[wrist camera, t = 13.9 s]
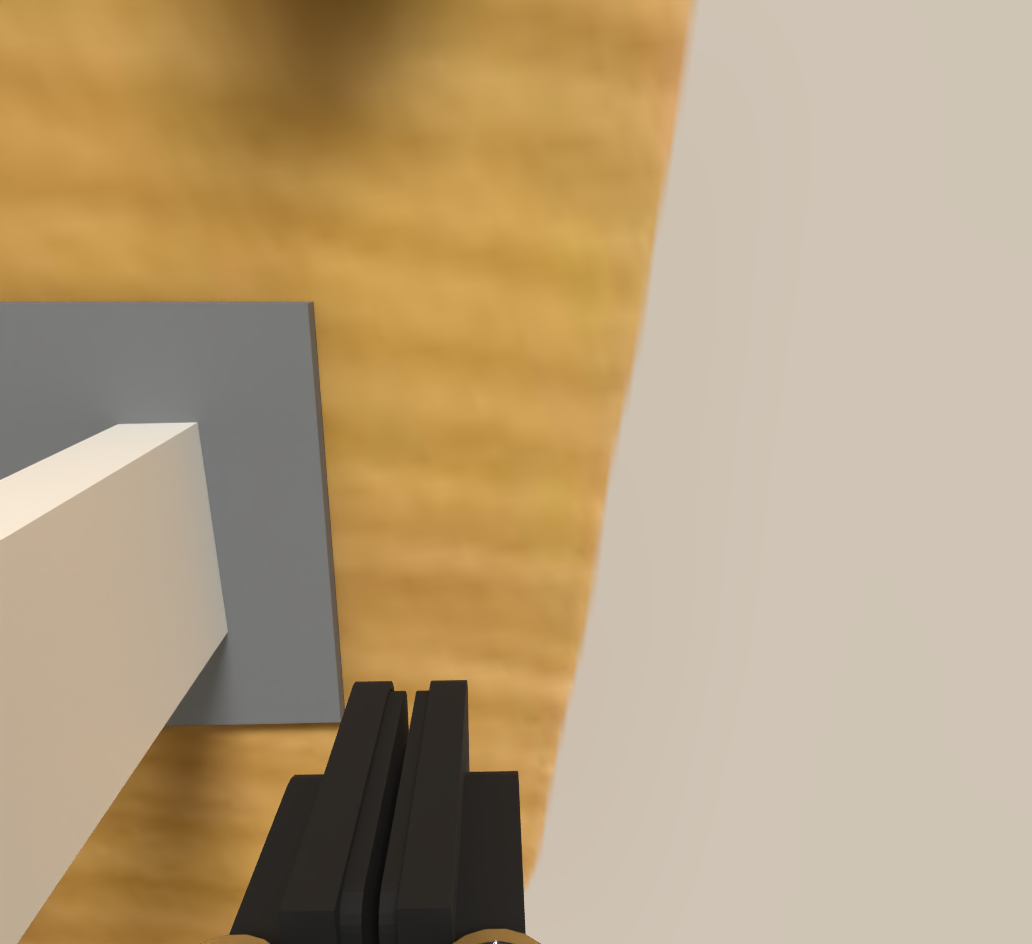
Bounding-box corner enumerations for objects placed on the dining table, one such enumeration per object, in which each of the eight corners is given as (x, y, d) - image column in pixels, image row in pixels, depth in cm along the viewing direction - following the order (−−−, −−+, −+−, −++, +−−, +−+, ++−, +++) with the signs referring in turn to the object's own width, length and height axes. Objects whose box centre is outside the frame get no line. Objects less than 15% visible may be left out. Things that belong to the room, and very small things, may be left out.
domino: (155, 634, 20) (-198, 1044, 10) (118, 424, 19) (-361, 651, 8) (227, 631, 20) (-47, 1037, 10) (197, 422, 19) (-175, 645, 8)
